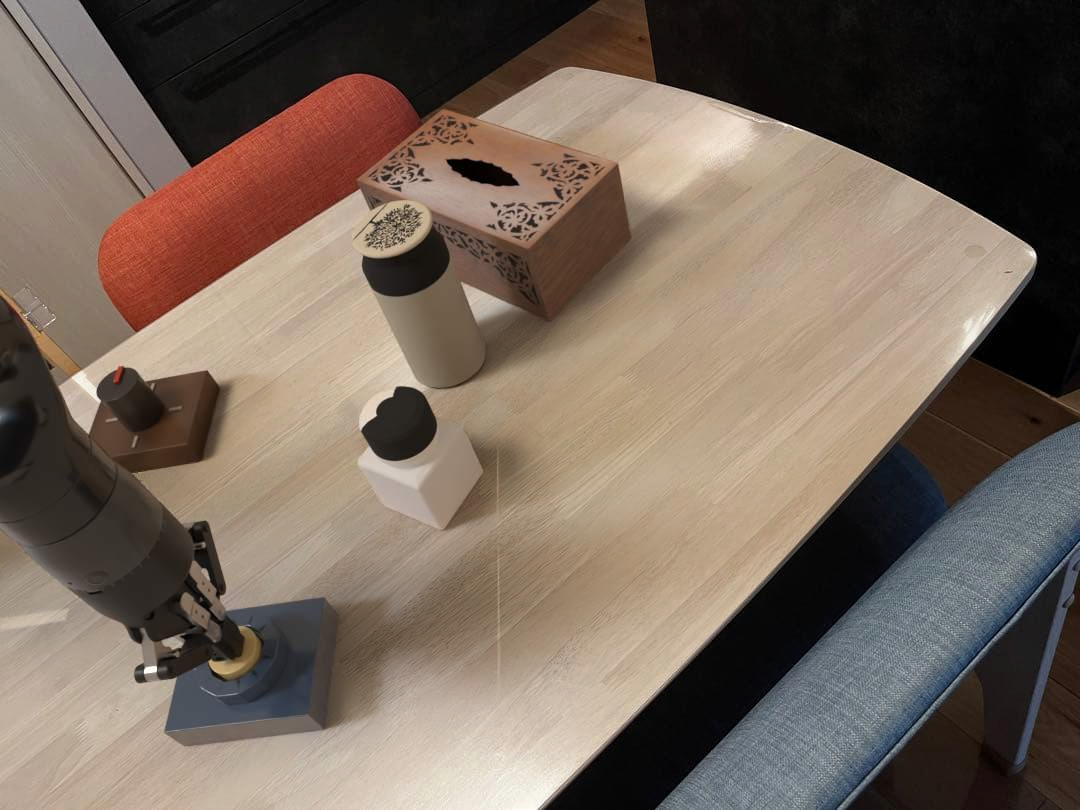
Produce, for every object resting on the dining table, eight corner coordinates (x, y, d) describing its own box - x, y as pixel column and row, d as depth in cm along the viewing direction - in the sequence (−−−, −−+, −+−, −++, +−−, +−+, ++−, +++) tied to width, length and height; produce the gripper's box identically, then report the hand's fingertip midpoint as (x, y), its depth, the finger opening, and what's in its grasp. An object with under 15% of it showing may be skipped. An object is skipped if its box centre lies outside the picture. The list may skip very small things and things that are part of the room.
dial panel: (95, 479, 95) (77, 461, 92) (120, 405, 101) (104, 387, 99) (201, 461, 93) (186, 443, 91) (220, 387, 99) (206, 368, 97)
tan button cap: (215, 687, 72) (203, 676, 70) (225, 640, 74) (213, 629, 73) (263, 681, 71) (251, 670, 70) (271, 633, 74) (260, 622, 72)
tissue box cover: (386, 247, 109) (356, 180, 101) (466, 177, 114) (443, 108, 107) (549, 321, 95) (528, 249, 87) (631, 237, 100) (618, 162, 93)
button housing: (184, 747, 73) (150, 724, 69) (209, 631, 80) (179, 605, 76) (325, 730, 71) (298, 706, 68) (338, 613, 78) (315, 586, 74)
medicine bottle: (485, 471, 84) (448, 388, 75) (443, 533, 81) (399, 454, 72) (425, 448, 88) (382, 366, 79) (382, 506, 84) (332, 428, 75)
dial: (158, 427, 93) (130, 394, 89) (119, 434, 94) (89, 402, 90) (168, 395, 96) (140, 361, 92) (129, 402, 96) (100, 369, 92)
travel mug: (502, 348, 94) (452, 211, 80) (451, 401, 91) (390, 267, 77) (448, 322, 98) (391, 188, 85) (397, 372, 95) (330, 240, 81)
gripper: (82, 461, 63) (205, 581, 76) (18, 638, 55) (169, 739, 68) (182, 443, 62) (289, 568, 75) (132, 622, 53) (263, 728, 66)
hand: (232, 649), depth 71 cm, fingers closed
